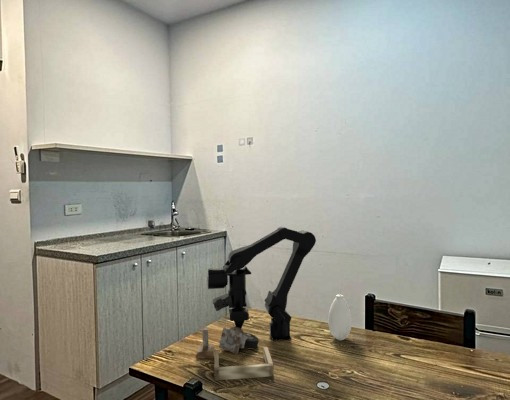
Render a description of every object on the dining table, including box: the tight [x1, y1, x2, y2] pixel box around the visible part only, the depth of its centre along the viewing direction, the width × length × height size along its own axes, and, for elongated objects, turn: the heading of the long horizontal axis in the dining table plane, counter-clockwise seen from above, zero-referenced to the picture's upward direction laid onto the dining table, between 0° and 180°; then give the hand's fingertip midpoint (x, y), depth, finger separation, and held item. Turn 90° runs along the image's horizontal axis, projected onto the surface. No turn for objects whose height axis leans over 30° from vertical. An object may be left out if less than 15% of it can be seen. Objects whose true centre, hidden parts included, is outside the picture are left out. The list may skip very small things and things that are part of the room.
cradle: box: [213, 346, 275, 381], centre depth 106 cm, size 16×12×3 cm
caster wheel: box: [218, 326, 260, 355], centre depth 120 cm, size 7×11×10 cm
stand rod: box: [196, 327, 215, 359], centre depth 115 cm, size 5×5×8 cm
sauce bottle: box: [327, 287, 353, 341], centre depth 125 cm, size 8×8×18 cm
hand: (238, 332), depth 125 cm, fingers closed
